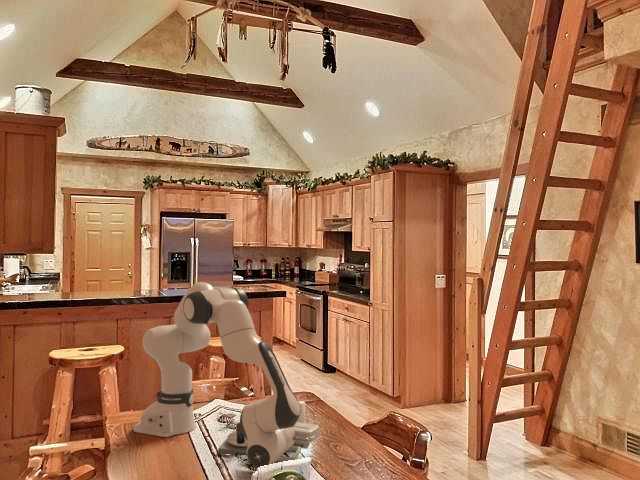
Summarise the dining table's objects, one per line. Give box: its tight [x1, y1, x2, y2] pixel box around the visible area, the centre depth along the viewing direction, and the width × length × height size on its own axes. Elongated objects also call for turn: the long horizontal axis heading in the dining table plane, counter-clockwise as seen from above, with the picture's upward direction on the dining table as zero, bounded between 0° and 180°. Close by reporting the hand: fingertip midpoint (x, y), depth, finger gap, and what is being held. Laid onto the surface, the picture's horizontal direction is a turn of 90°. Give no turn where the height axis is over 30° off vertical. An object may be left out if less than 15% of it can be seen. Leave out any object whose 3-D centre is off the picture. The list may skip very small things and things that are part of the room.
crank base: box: [217, 438, 247, 455], centre depth 168 cm, size 14×14×2 cm
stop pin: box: [294, 400, 306, 446], centre depth 170 cm, size 4×4×14 cm
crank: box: [226, 421, 248, 448], centre depth 168 cm, size 12×12×8 cm
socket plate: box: [292, 442, 311, 449], centre depth 170 cm, size 7×7×1 cm
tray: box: [276, 446, 302, 462], centre depth 160 cm, size 9×9×2 cm
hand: (297, 421), depth 168 cm, fingers open, 8 cm apart
